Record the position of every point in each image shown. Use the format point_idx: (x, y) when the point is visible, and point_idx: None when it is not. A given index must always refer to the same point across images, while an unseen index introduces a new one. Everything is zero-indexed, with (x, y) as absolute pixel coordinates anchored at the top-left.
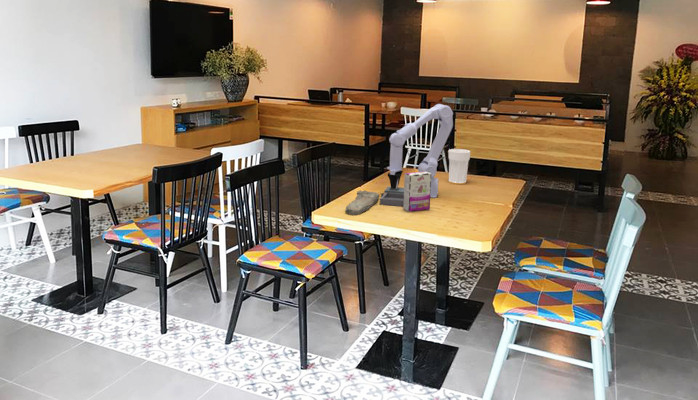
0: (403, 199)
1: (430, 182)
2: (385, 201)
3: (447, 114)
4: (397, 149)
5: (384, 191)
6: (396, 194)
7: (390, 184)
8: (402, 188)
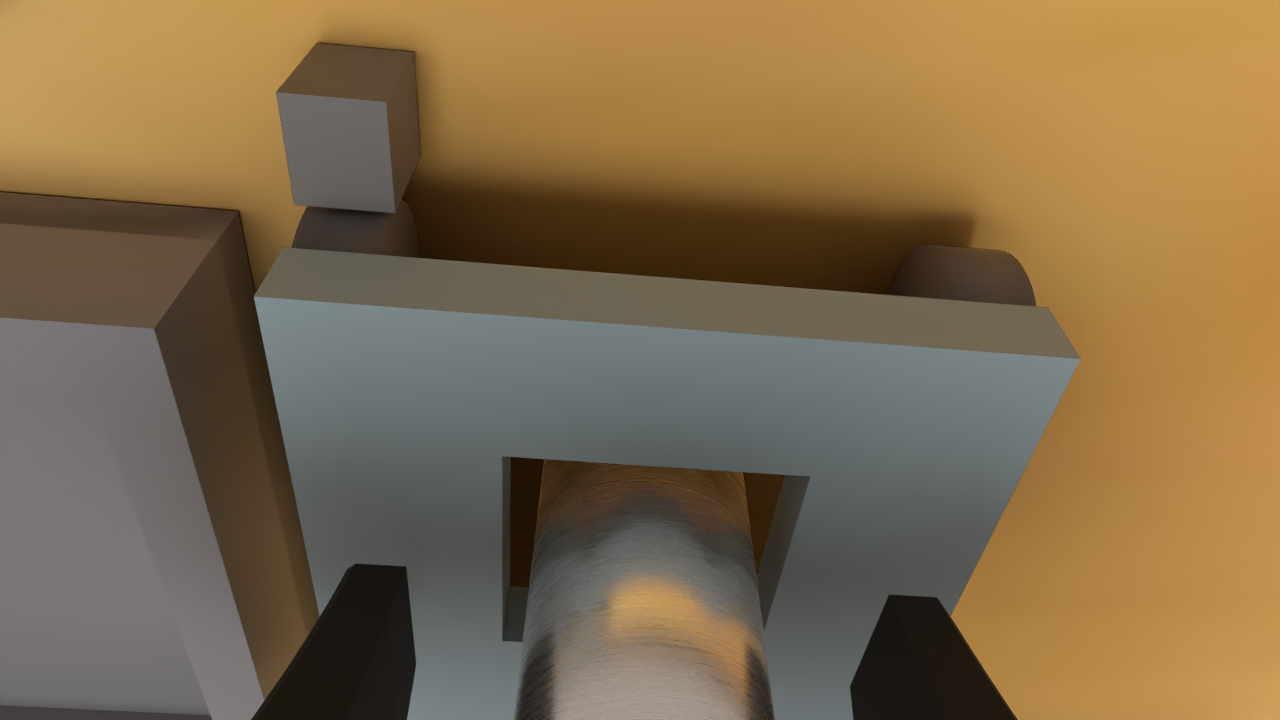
0: (166, 629)
1: None
2: None
3: None
4: None
5: (273, 268)
6: (179, 585)
7: (276, 686)
8: (784, 709)
